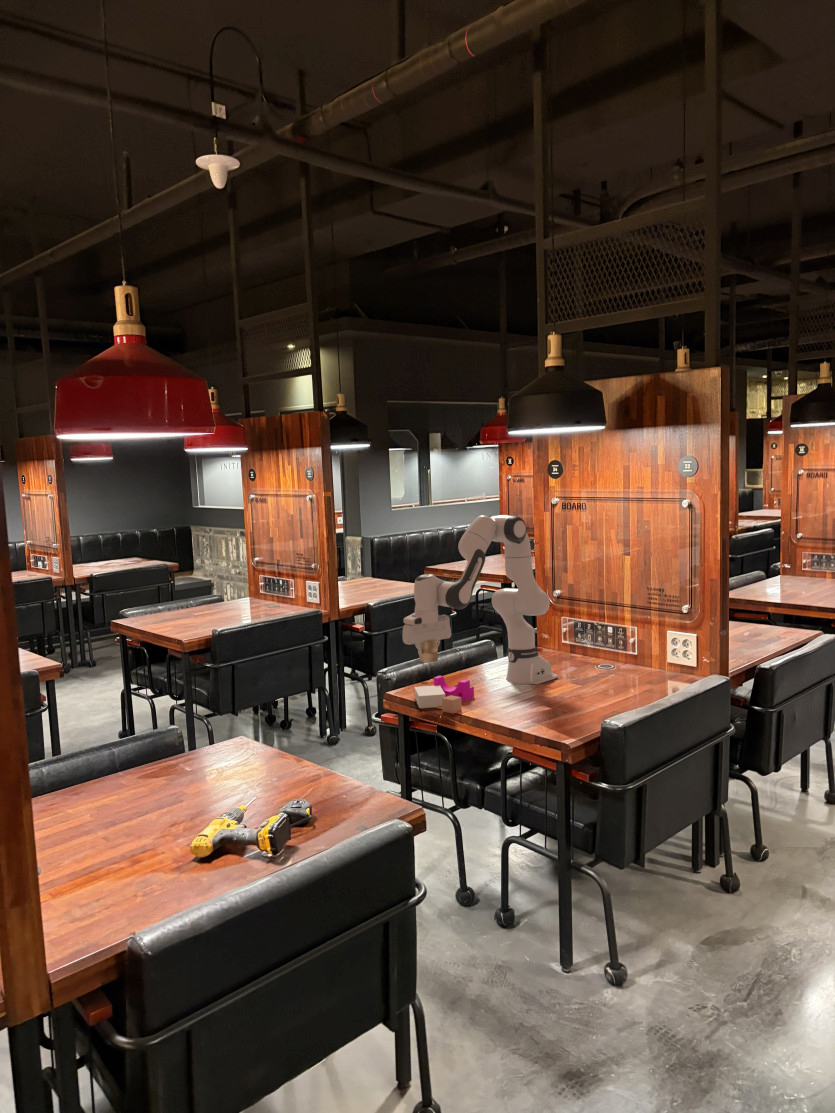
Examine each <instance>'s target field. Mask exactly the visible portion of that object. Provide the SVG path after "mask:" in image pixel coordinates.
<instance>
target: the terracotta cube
mask: <svg viewBox="0 0 835 1113" xmlns="http://www.w3.org/2000/svg"><path fill="white" fill-rule="evenodd" d="M441 708H442V712H444V713H449V714H455V713H458V712H460V711H461V712H462V711H463V710H462V709H463V707H462V701H461V697H457V696H452V695H450V696H447V697H444V698H442V707H441Z"/></svg>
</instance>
